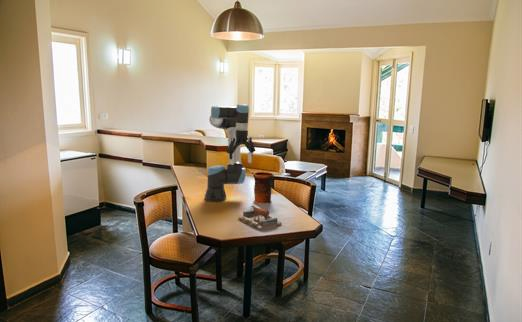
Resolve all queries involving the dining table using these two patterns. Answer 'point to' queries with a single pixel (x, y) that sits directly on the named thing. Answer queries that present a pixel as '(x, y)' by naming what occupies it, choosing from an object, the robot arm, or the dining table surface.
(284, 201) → the dining table surface
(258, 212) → the bull figurine
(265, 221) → the chassis bay
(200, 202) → the dining table surface
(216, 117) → the robot arm
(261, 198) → the vessel
